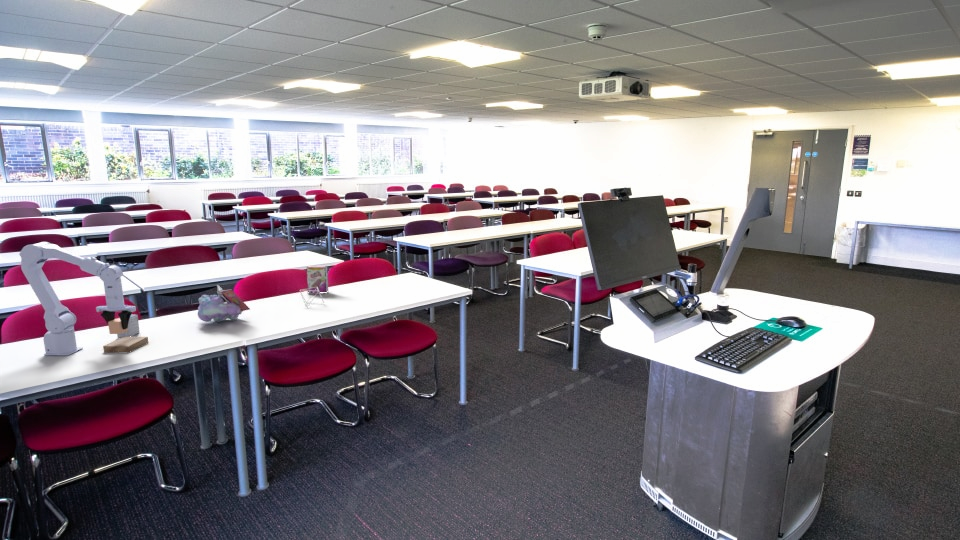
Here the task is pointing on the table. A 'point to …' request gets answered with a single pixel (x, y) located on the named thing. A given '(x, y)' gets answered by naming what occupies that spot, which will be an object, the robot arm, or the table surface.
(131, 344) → the walnut block
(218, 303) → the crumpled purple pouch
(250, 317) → the table surface
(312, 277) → the candy bar box
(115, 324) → the terracotta block
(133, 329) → the medicine box
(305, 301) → the geometric polyhedron
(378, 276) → the table surface
